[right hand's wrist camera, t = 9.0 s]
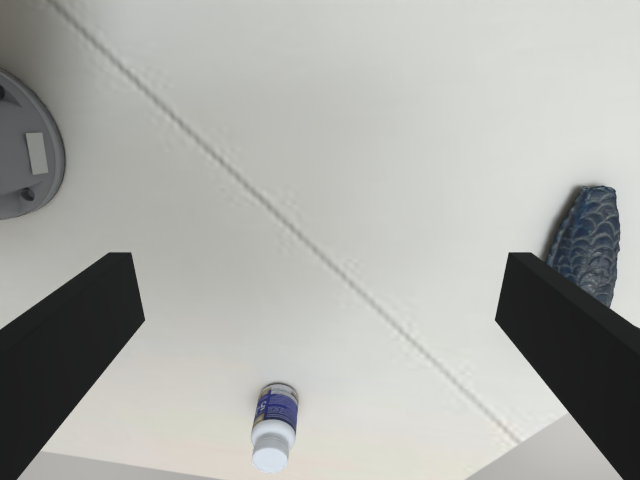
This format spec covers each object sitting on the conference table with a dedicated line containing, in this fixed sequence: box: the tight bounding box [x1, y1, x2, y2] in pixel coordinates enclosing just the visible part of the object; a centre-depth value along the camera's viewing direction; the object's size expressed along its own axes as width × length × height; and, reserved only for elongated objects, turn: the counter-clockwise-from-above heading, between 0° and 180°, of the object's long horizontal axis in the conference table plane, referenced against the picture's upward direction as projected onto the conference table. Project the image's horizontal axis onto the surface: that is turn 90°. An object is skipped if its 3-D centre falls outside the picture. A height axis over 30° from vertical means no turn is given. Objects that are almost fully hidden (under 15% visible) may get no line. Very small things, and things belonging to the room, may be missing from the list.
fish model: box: [546, 186, 620, 308], centre depth 39 cm, size 7×21×5 cm, turn 2°
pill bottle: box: [251, 384, 298, 473], centre depth 43 cm, size 5×5×9 cm
